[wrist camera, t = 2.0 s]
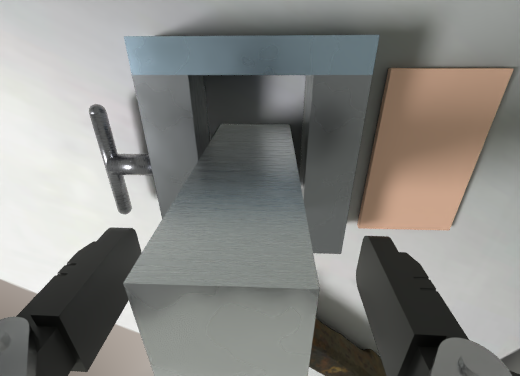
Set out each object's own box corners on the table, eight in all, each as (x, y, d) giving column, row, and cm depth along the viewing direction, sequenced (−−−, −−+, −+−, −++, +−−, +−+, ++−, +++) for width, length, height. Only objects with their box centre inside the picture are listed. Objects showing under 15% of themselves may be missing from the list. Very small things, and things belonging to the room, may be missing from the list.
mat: (388, 68, 14) (391, 68, 14) (507, 68, 14) (513, 68, 14) (357, 224, 19) (358, 228, 19) (446, 226, 19) (449, 230, 19)
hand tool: (235, 294, 23) (227, 348, 19) (268, 269, 22) (267, 323, 18) (372, 383, 29) (388, 440, 25) (405, 369, 28) (428, 426, 24)
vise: (87, 36, 14) (45, 37, 12) (359, 35, 14) (379, 34, 11) (135, 220, 20) (114, 248, 17) (331, 224, 19) (340, 253, 17)
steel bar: (221, 123, 16) (123, 282, 6) (289, 124, 16) (319, 289, 6) (225, 184, 18) (158, 387, 8) (286, 185, 18) (305, 393, 7)
